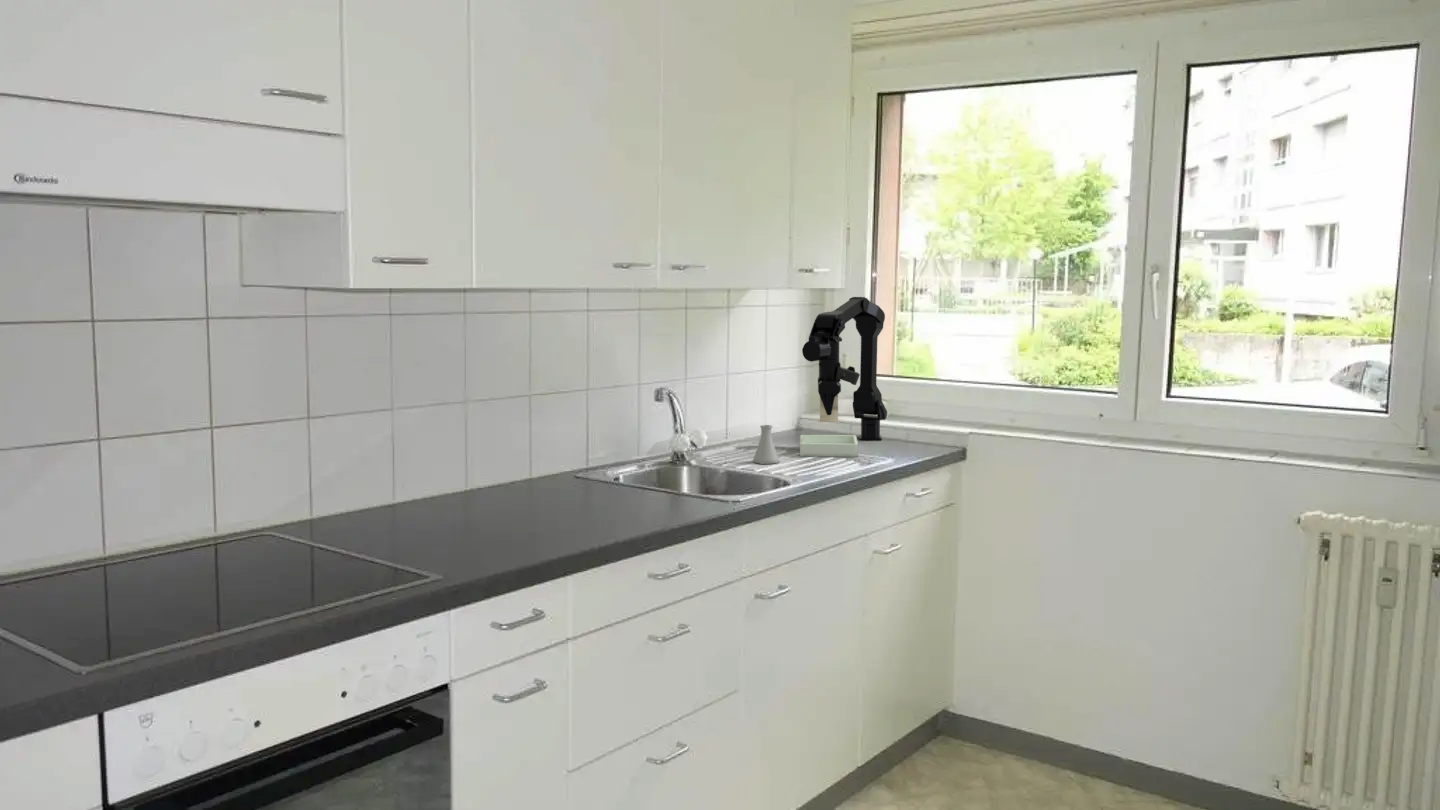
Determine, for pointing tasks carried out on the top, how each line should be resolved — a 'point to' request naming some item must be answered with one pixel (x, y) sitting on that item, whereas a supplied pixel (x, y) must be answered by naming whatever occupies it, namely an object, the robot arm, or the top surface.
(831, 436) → the sage bin
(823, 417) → the birch block
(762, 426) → the flask
